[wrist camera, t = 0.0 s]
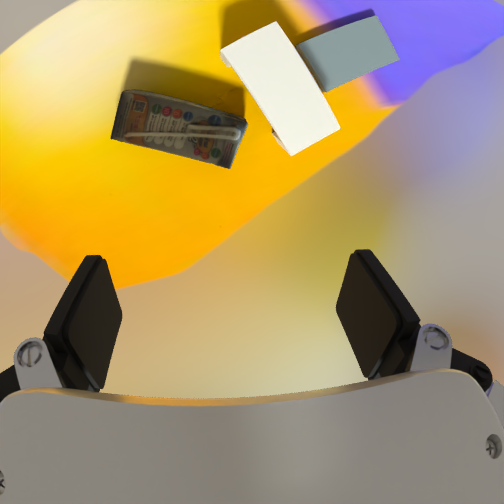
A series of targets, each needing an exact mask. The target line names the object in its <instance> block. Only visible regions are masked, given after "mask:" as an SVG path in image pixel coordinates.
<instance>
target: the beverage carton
mask: <svg viewBox="0 0 504 504" xmlns="http://www.w3.org/2000/svg"><path fill="white" fill-rule="evenodd" d="M247 125H248V123H247V122H246V119H245V118H243V117H239V116H236V115H233V114H230V113H226V112H223V111H220V110H217V109H213V108H210V107H206V106H203V105H200V104H197V103H193V102H190V101H186V100H182V99H178V98H174V97H170V96H166V95H162V94H157V93H153V92H147V91H141V90H127V91H123V92H122V94H121V98H120V101H119V105H118V108H117V112H116V116H115V121H114V126H113V130H112V134H111V139H114V140H118V141H120V142H126V143H130V144H134V145H138V146H142V147H147V148H151V149H155V150H160V151H163V152H167V153H171V154H175V155H179V156H183V157H187V158H191V159H195V160H199V161H203V162H207V163H212V164H215V165H217V166H221V167H224V168H228V169H230V168H231V165H232V163H233V160H234V157H235V155H236V152H237V150H238V147H239V145H240V142H241V140H242V138H243V135H244V133H245V131H246V128H247Z"/></svg>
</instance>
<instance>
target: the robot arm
mask: <svg viewBox="0 0 504 504" xmlns="http://www.w3.org/2000/svg"><path fill="white" fill-rule="evenodd" d="M336 312H337V314H338V317H339V319H340V321H341V324H342V326H343V328H344V330H345V333H346V335H347V337H348V340H349V342H350V344H351V347H352V349H353V352H354V354H355V356H356V359H357V361H358V363H359V366H360V368H361V371H362V373H363V375H364V377H366V378H368V380H369V381H364V382H359V383H354V384H349V385H344V386H339V387H332V388H327V389H320V390H313V391H306V392H298V393H290V394H281V395H270V396H257V397H242V398H215V399H183V398H182V399H181V398H155V397H154V398H153V397H140V396H129V395H118V394H108V393H99V391H100V389H103V387H104V385H105V380H106V376H107V372H108V368H109V364H110V360H111V356H112V353H113V349H114V345H115V342H116V338H117V335H118V331H119V328H120V324H121V321H122V310H121V307H120V304H119V301H118V298H117V295H116V292H115V289H114V285H113V282H112V279H111V275H110V272H109V269H108V265H107V262H106V260H105V259H102V257H101V256H100V255H87V256H86V257H85V258H84V259H83V261H82V263H81V264H80V266H79V268H78V269H77V271H76V273H75V274H74V276H73V278H72V279H71V281H70V283H69V285H68V287H67V288H66V290H65V292H64V294H63V296H62V298H61V299H60V301H59V303H58V305H57V307H56V309H55V310H54V312H53V314H52V316H51V318H50V321H49V322H48V324H47V326H46V328H45V331H44V337H43V339H42V340H41V339H40V338H29V339H27V340H25V341H23V342H22V343H21V344H20V345H19V346H18V347H17V349H16V351H15V354H14V365H13V366H11V367H10V368H8V369H6V370H5V371H3V372H2V373H0V504H504V386H502V385H501V384H500V383H499V382H498V381H497V380H495V381H494V382H492V381H493V380H492V374H491V371H490V369H489V368H488V367H487V366H486V365H485V364H484V363H483V362H481V361H479V360H477V359H475V358H473V357H471V356H468V355H466V354H464V353H462V352H460V351H458V350H456V349H454V348H452V339H451V337H450V335H449V334H448V332H447V331H445V329H443V328H442V327H440V326H438V325H435V324H426V325H423V326H422V327H421V326H420V324H419V322H420V319H419V317H418V315H417V314H416V312H415V311H414V309H413V308H412V306H411V305H410V303H409V302H408V300H407V299H406V297H405V296H404V295H403V293H402V292H401V290H400V289H399V287H398V286H397V285H396V283H395V282H394V281H393V279H392V278H391V276H390V275H389V274H388V272H387V271H386V270H385V268H384V267H383V266H382V264H381V263H380V262H379V260H378V259H377V258H376V256H375V255H374V254H373V252H372V251H371V250H369V249H364V250H355V252H354V253H353V254H351V255H350V258H349V262H348V266H347V269H346V273H345V276H344V280H343V283H342V287H341V290H340V294H339V297H338V300H337V304H336Z"/></svg>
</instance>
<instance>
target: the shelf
mask: <svg viewBox="0 0 504 504" xmlns="http://www.w3.org/2000/svg"><path fill="white" fill-rule="evenodd" d="M220 55H221V59H222V61H223V62H224V63H225V65H226V66H227V68H228V67H230V66H232V68H233V69H234V71H235V72H236V73H237V75H238V76H239V78H240V79H241V80H242V82H243V83H244V85H245V86H246V88H247V89H248V91H249V92H250V94H251V95H252V96H253V98H254V99H255V101H256V102H257V104H258V105H259V107H260V109H261V110H262V112H263V113H264V115H265V116H266V118H267V119H268V121H269V122H270V124H271V126H272V127H273V129H274V130H275V132H273V133H272V134H273V136H274V138H275V139H276V141H277V142H278V144H279V145H280V146H281V147H282V148H283V149H284V150H285V151H286V152H287V153H288V154H289V155H290V156H292V155H294V154H296V153H298V152H299V151H301V150H303V149H305V148H306V147H308V146H310V145H312V144H313V143H315V142H317V141H319V140H321V139H322V138H324V137H326V136H328V135H330V134H331V133H333V132H335V131H337V130H339V129H341V128H340V126H339V124H338V122H337V120H336V118H335V116H334V114H333V112H332V111H331V109H330V107H329V105H328V103H327V101H326V99H325V98H324V96H323V94H322V92H321V90H320V89H319V87H318V85H317V83H316V82H315V80H314V78H313V77H312V75H311V73H310V72H309V70H308V68H307V67H306V65H305V63H304V62H303V60H302V59H301V57H300V56H299V54H298V52H297V51H296V49H295V48H294V46H293V45H292V43H291V42H290V40H289V39H288V37H287V36H286V34H285V33H284V32H283V30H282V29H281V27H280V26H279V25H278V23H277V22H273V23H271V24H269V25H267V26H265V27H263V28H261V29H258V30H256V31H254V32H252V33H250V34H248V35H247V36H245V37H243V38H241V39H239V40H237V41H235V42H233V43H232V44H230V45H228V46H226V47H225V48H223V49H221V50H220Z"/></svg>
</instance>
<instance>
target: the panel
mask: <svg viewBox="0 0 504 504" xmlns="http://www.w3.org/2000/svg"><path fill="white" fill-rule="evenodd" d="M295 47H296V49H297V50H298V52H299V53H300V55H301V56H302V58H303V59H304V61H305V63H306V64H307V66H308V68H309V69H310V71H311V73H312V74H313V76H314V78H315V79H316V81H317V83H318V85H319V86H320V88H321V90H322V92H328V91H330V90H332V89H334V88H336V87H338V86H340V85H342V84H345V83H347V82H349V81H351V80H353V79H355V78H358V77H360V76H362V75H364V74H367V73H369V72H371V71H374V70H376V69H378V68H381V67H383V66H386V65H388V64H390V63H393V62H396V61H398V60H399V57H398V55H397V53H396V51H395V49H394V47H393V45H392V43H391V41H390V39H389V37H388V35H387V34H386V32H385V30H384V28H383V26H382V24H381V23H380V21H379V19H378V17H377V16H376V15H375V16H372V17H369V18H365V19H362V20H359V21H356V22H353V23H350V24H347V25H344V26H342V27H339V28H336V29H334V30H331V31H328V32H326V33H323V34H321V35H318V36H316V37H314V38H311V39H309V40H307V41H304V42H302V43H300V44H298V45H296V46H295Z"/></svg>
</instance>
